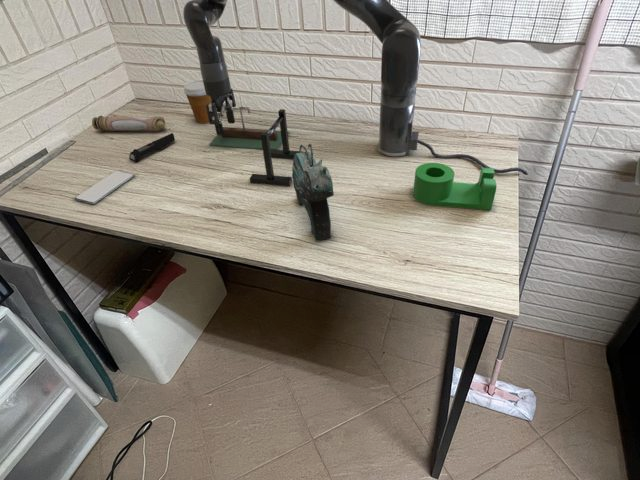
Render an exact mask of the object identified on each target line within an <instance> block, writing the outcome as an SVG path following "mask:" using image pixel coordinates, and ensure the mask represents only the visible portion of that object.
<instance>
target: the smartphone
mask: <svg viewBox="0 0 640 480" xmlns="http://www.w3.org/2000/svg"><path fill="white" fill-rule="evenodd" d="M134 176H135V175H134V174H133V173H130V172H126V171H121V170H113V171H112V172H111V173H109V174H108V175H106V176H105V177H104V178H102V179H101V180H99V181H98V182H96V183H95V184H93V185H92V186H90V187H88V188H87V189H85V190H84V191H83V192H81V193H78V195H76V196H74V200H76V201H79V202H83V203H85V204H86V203H87V204H89V205H94V204H97V203H98V202H99V201H101V200H102V199H103V198H106V197H107V196H108V195H109V194H111V193H112V192H114V191H115V190H116V189H117V188H119V187H121V186H122V185H123V184H125V183H126V182H128V181H129V180H131V179H132V178H133V177H134Z"/></svg>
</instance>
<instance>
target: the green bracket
mask: <svg viewBox="0 0 640 480" xmlns="http://www.w3.org/2000/svg"><path fill="white" fill-rule="evenodd" d="M494 169H495V168H493V167H490V168H483V167H481V168H480V173H479V178H478V181H477V182H476V183H471V182H469V183H468V182H455V175H456V173H455V171H454V169H453V168H452V167H451V166H449V165H446V164H444V163H440V162H426V163H422V164H420V165H418V166H416V168H415V172H414V180H413V190H412V196H413V198H414V200H416V202H418V203H420V204H423V205H425V206H435V207H446V208H458V209H469V210H470V209H471V210H483V211H492V208H493V204H494V200H495V195H496V192H497V180H496V178H495V174H496V173H494Z"/></svg>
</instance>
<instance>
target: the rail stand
mask: <svg viewBox="0 0 640 480" xmlns="http://www.w3.org/2000/svg"><path fill="white" fill-rule="evenodd" d="M277 113H278V117H277V118H276V120H275V121H274V123H273V124H271V126H270V128H269V129H268V130H269V131H268V132H267V133H266V132H262V134H261V141H262V148H263V150H262V154H263V160H264V166H265V173H266V174H262V173H261V174H260V173H252V174H251V175H250V177H249V182H250V184H256V185H257V184H258V185H267V186H269V185H270V186H280V187H289V188H290V187H291V185H292V184H293V177H292V176H283V175H275V172H274V166H273V160H272V159H282V160H283V159H284V160H294V155H295V154H296V153H299V150H290V142H289V141H290V140H289V134H288V132H287V131H288V123H287V113H286V109H284V108H283V109H282V108H281V109H278V112H277ZM278 127H279V128H280V129H279V131H281V138H282V144H281V146H282V149H278V150H276V149H270V143H269V137H270V136H271V135H272V133H273V132H274V130H276V129H277V128H278ZM301 152H305V150H304V151H302V150H301Z"/></svg>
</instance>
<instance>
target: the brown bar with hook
mask: <svg viewBox="0 0 640 480" xmlns="http://www.w3.org/2000/svg"><path fill="white" fill-rule="evenodd" d="M243 110H247V113H248V114H249V115H250V114H251V109H250V107H249V106H239V114H240V120H241V125H242V127H228V126H223V130H224V135H222V137H228V138H243V139H257V140H261V134H262V132H266V133H267V132H268V131H269V129H259V128H247V127H246V126H245V120H244V115H243ZM277 131H278V130H276V129H275V130H274V132H273V133H272V135H271V136H270V137H269V140H272V141H276V140H277V138H278V137H277Z"/></svg>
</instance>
